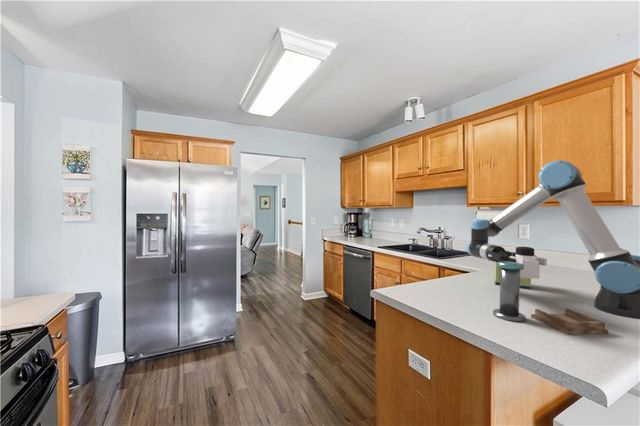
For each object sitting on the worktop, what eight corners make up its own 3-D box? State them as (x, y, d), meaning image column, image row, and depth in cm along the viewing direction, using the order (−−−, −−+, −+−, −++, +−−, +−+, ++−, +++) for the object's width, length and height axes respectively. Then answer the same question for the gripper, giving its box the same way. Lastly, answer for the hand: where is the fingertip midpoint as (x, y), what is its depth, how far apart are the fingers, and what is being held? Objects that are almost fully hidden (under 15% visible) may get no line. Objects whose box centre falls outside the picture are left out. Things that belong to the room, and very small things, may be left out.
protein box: (531, 289, 138) (532, 259, 137) (494, 284, 146) (495, 256, 146) (528, 285, 147) (529, 256, 146) (494, 280, 155) (495, 253, 155)
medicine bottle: (539, 279, 106) (540, 248, 106) (519, 277, 108) (519, 247, 107) (529, 274, 113) (529, 246, 113) (510, 273, 115) (510, 245, 114)
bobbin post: (511, 311, 107) (512, 260, 107) (532, 321, 97) (534, 266, 97) (487, 311, 106) (488, 260, 106) (506, 322, 96) (508, 266, 96)
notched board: (566, 316, 102) (566, 307, 102) (608, 334, 88) (608, 323, 88) (531, 317, 101) (531, 307, 101) (568, 334, 87) (568, 323, 87)
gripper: (514, 261, 129) (559, 271, 107) (471, 261, 127) (508, 272, 105) (514, 245, 129) (560, 252, 107) (471, 245, 127) (509, 252, 105)
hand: (534, 262), depth 106 cm, fingers closed on medicine bottle, 9 cm apart
